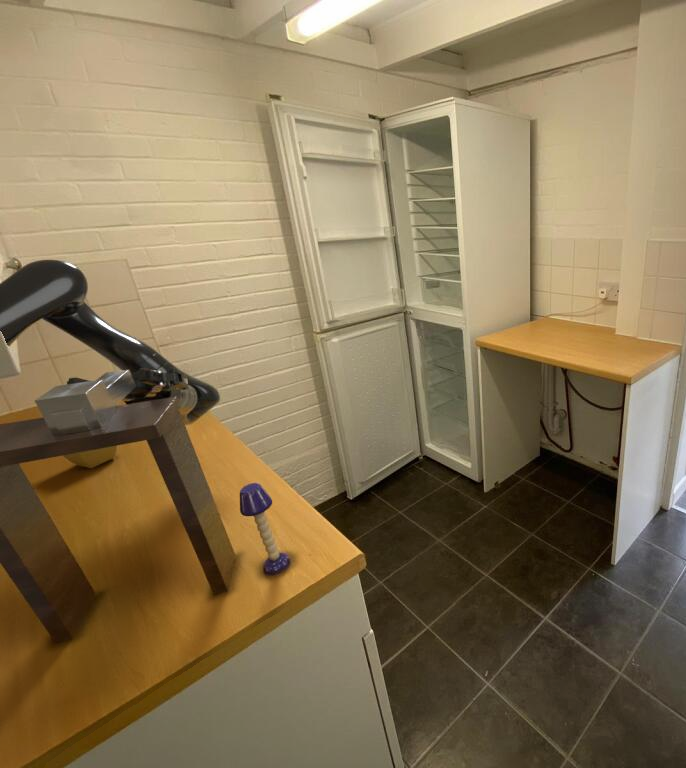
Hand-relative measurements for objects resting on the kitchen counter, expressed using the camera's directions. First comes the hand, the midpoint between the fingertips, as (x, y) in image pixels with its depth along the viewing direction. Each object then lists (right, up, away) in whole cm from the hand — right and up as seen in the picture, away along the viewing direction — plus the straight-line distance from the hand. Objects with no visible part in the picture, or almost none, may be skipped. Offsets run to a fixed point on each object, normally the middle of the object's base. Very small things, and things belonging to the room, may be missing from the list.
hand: (108, 379), depth 63 cm
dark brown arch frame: (+3, -36, +5) cm, 36 cm away
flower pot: (-45, -21, +43) cm, 66 cm away
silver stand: (+2, -4, -3) cm, 5 cm away
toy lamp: (+20, -33, +11) cm, 40 cm away
